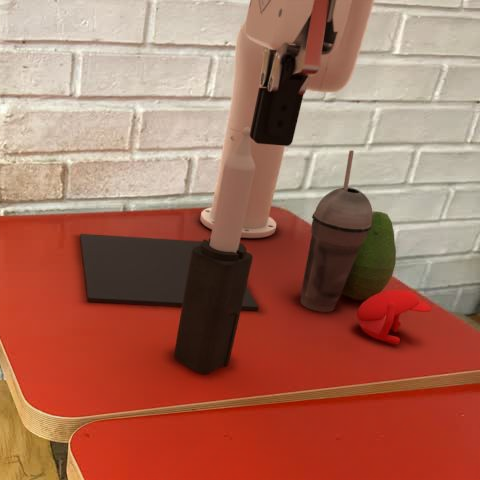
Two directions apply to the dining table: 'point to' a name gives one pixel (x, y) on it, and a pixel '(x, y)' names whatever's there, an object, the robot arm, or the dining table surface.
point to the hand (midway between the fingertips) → (269, 141)
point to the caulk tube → (218, 273)
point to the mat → (139, 270)
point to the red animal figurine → (387, 313)
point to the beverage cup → (334, 244)
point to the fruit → (373, 260)
